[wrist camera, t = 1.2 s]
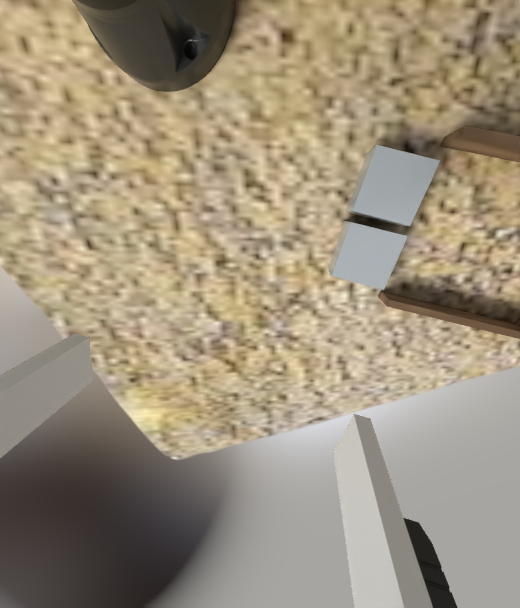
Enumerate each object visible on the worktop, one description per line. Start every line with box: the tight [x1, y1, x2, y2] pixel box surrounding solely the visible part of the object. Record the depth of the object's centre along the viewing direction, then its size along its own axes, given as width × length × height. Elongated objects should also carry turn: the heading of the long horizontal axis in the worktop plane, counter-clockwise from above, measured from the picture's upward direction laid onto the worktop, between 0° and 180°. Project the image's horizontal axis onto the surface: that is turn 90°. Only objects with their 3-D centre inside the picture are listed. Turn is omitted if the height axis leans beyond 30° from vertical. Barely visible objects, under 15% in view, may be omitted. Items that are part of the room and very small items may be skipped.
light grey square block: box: [346, 145, 440, 226], centre depth 26 cm, size 6×6×4 cm
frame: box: [378, 126, 520, 339], centre depth 26 cm, size 18×18×4 cm
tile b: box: [328, 221, 408, 290], centre depth 28 cm, size 6×6×4 cm
